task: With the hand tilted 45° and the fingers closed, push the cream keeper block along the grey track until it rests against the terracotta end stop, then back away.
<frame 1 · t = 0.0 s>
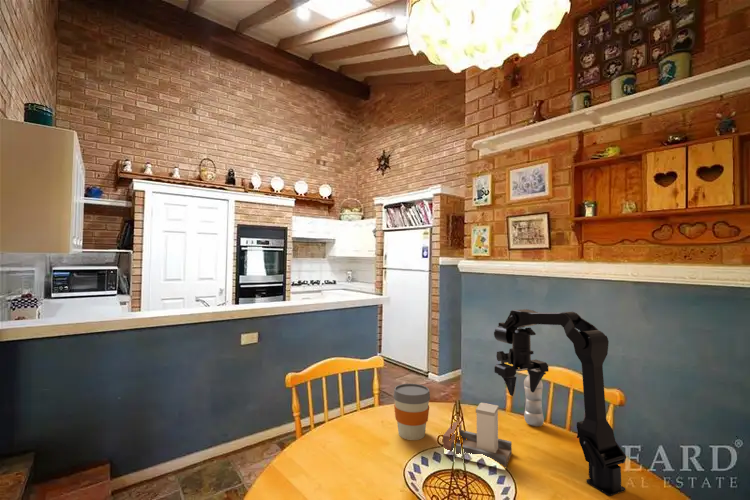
hand: (521, 393, 120), 15 cm above the table, tool pointing down, fingers open, 9 cm apart
keeper: (487, 428, 108), point 8 cm above the table, slide at 0.0 cm
track: (487, 456, 108), on the table
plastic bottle: (533, 425, 130), on the table
reusable coffee cup: (411, 434, 122), on the table
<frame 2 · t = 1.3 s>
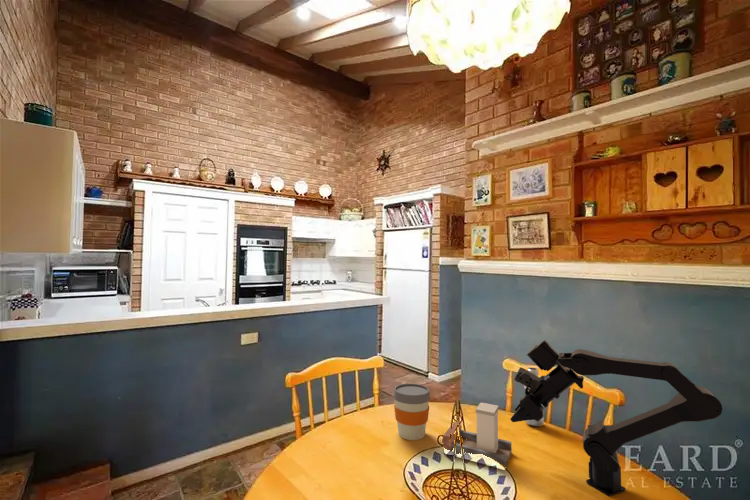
hand: (513, 415, 105), 13 cm above the table, tool tilted 45°, fingers open, 7 cm apart
nothing on the table moved.
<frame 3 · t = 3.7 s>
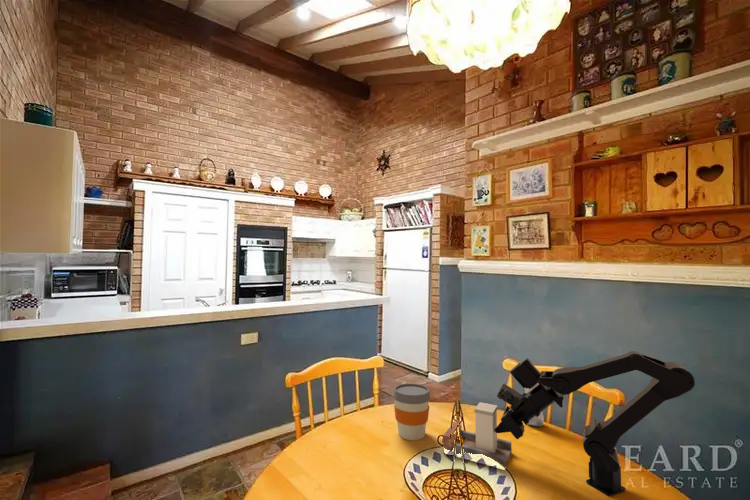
hand: (495, 431, 107), 8 cm above the table, tool tilted 45°, fingers closed, pressing on keeper
keeper: (486, 428, 108), point 8 cm above the table, slide at 0.3 cm, touching gripper
everything else where it was.
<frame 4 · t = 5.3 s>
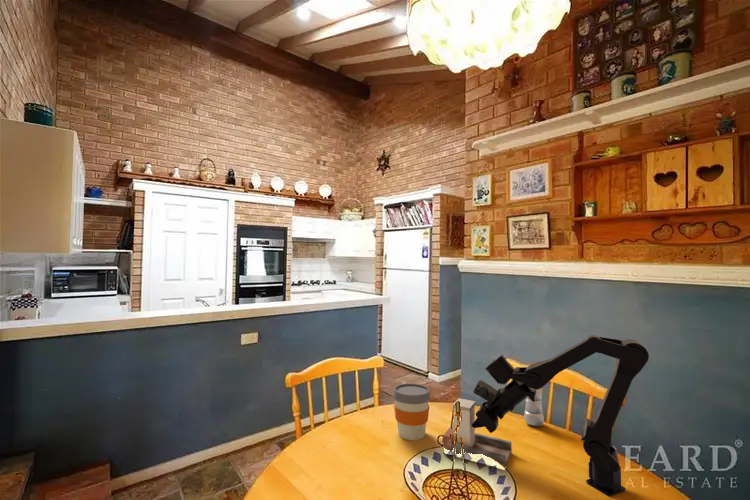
hand: (472, 426, 110), 8 cm above the table, tool tilted 45°, fingers closed, pressing on keeper
keeper: (464, 423, 112), point 8 cm above the table, slide at 7.1 cm, touching gripper, track
everything else where it was.
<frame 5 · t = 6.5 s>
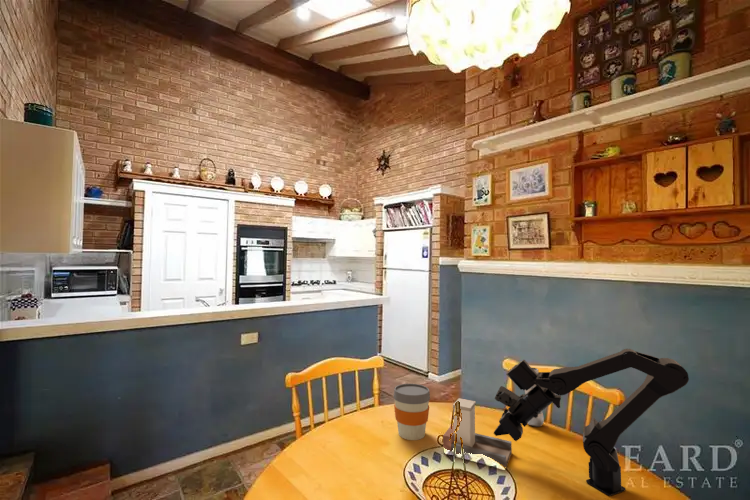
hand: (494, 433, 107), 7 cm above the table, tool tilted 45°, fingers closed
keeper: (464, 423, 112), point 8 cm above the table, slide at 7.0 cm
everything else where it was.
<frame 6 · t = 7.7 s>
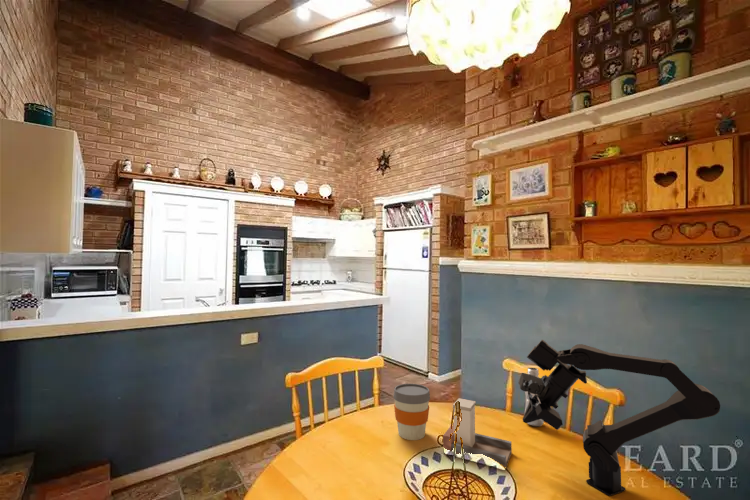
hand: (524, 421, 103), 12 cm above the table, tool tilted 35°, fingers closed
nothing on the table moved.
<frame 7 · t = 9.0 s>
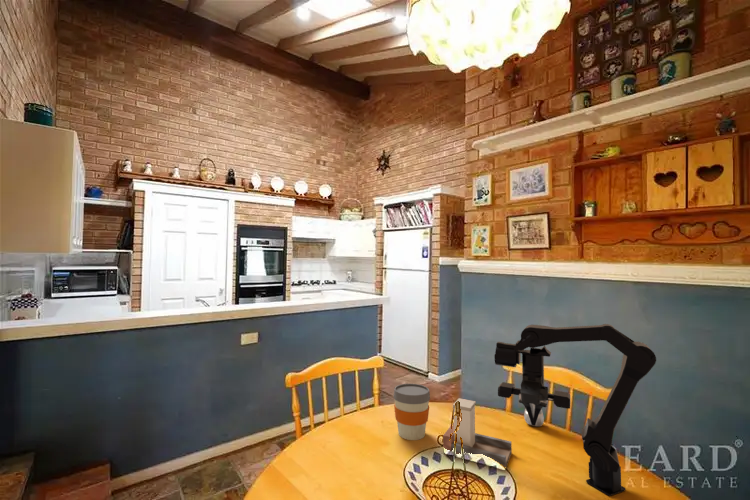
hand: (533, 425, 102), 12 cm above the table, tool pointing down, fingers closed
nothing on the table moved.
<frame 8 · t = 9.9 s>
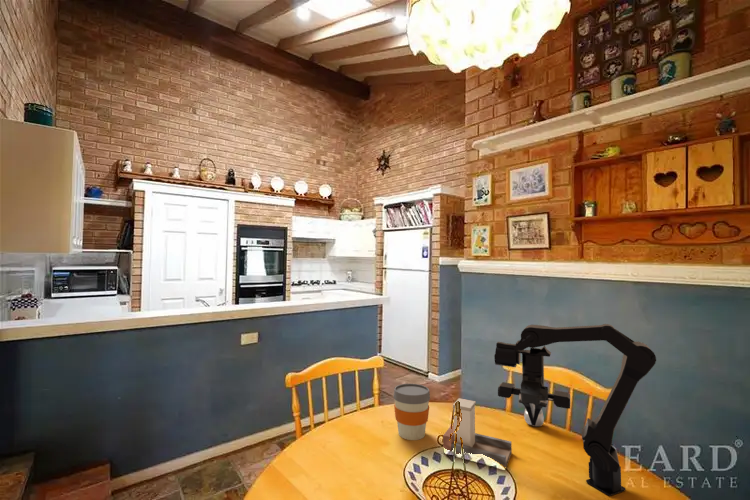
hand: (533, 425, 102), 12 cm above the table, tool pointing down, fingers closed
nothing on the table moved.
at the end: keeper slide at 7.0 cm; reusable coffee cup moved 0.2 cm from its start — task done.
